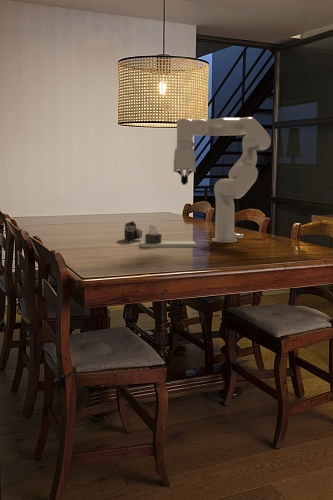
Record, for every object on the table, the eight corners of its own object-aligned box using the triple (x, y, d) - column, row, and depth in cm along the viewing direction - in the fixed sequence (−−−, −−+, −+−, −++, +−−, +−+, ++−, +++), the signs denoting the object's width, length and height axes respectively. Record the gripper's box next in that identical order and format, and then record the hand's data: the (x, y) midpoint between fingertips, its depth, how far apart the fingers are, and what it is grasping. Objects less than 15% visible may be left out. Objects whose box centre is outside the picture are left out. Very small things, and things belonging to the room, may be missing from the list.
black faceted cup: (160, 241, 277) (160, 233, 276) (161, 243, 269) (161, 235, 269) (145, 241, 276) (145, 233, 276) (145, 243, 269) (145, 235, 268)
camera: (144, 242, 283) (144, 222, 282) (127, 243, 282) (127, 223, 280) (139, 238, 298) (139, 219, 297) (123, 239, 297) (123, 220, 295)
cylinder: (157, 239, 275) (157, 225, 274) (158, 241, 270) (158, 226, 269) (148, 240, 275) (148, 225, 273) (149, 241, 270) (149, 226, 269)
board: (193, 244, 279) (193, 241, 279) (196, 247, 269) (196, 243, 269) (140, 244, 277) (140, 241, 277) (141, 247, 268) (141, 244, 267)
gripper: (199, 145, 274) (198, 184, 277) (168, 145, 273) (168, 184, 276) (201, 145, 267) (200, 184, 269) (169, 145, 266) (169, 184, 268)
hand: (184, 184), depth 273 cm, fingers closed
